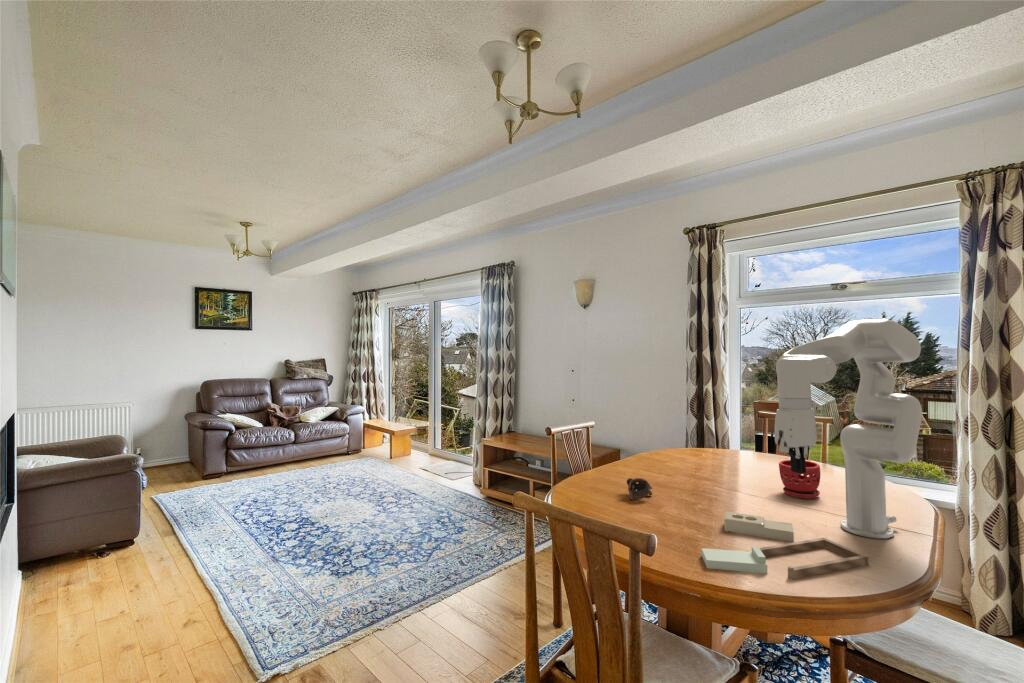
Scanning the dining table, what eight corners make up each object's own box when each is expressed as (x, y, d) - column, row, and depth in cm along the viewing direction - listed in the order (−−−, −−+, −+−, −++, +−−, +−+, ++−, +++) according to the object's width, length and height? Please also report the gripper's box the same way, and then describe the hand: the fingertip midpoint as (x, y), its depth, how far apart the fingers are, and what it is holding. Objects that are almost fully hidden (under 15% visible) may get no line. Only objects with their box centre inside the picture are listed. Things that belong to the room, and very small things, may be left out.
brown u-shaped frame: (823, 544, 129) (823, 535, 129) (868, 564, 117) (868, 554, 117) (752, 556, 122) (752, 547, 122) (792, 579, 110) (791, 568, 110)
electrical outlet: (793, 528, 131) (724, 518, 140) (793, 543, 131) (724, 532, 140) (791, 520, 137) (725, 511, 146) (792, 534, 137) (726, 523, 146)
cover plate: (758, 561, 120) (758, 546, 120) (767, 574, 113) (767, 558, 113) (701, 557, 123) (701, 542, 123) (707, 569, 116) (706, 553, 117)
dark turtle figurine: (659, 499, 170) (656, 483, 167) (641, 514, 167) (637, 498, 164) (636, 483, 180) (632, 468, 177) (618, 497, 177) (614, 481, 174)
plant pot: (808, 489, 177) (808, 458, 178) (828, 501, 164) (828, 467, 164) (773, 489, 179) (772, 458, 179) (790, 500, 166) (789, 467, 166)
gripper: (804, 399, 129) (807, 464, 129) (761, 404, 125) (764, 472, 125) (829, 402, 121) (833, 471, 122) (784, 408, 117) (788, 479, 117)
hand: (798, 471), depth 123 cm, fingers closed
